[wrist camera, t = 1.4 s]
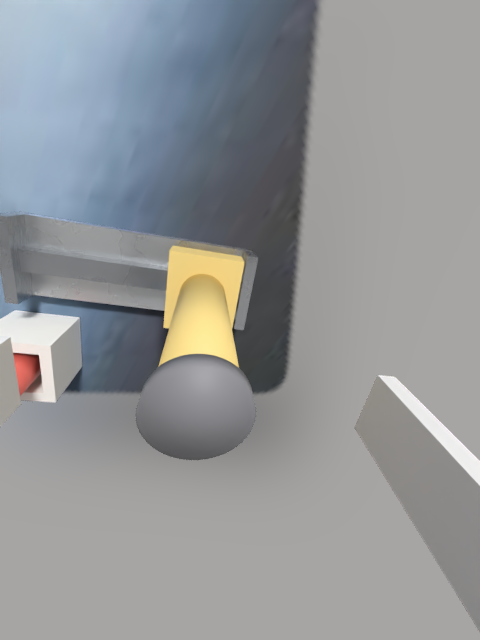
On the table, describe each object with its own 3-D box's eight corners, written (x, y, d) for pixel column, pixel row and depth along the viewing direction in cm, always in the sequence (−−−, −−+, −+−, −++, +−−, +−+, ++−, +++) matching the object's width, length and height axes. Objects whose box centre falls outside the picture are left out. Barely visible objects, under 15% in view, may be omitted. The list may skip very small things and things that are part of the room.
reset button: (7, 376, 22) (-43, 422, 17) (0, 340, 21) (-55, 380, 16) (52, 380, 22) (14, 425, 18) (48, 345, 21) (7, 384, 17)
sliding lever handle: (168, 311, 23) (114, 476, 10) (174, 242, 21) (115, 331, 7) (228, 318, 24) (255, 479, 10) (239, 253, 22) (292, 350, 8)
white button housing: (22, 363, 25) (-18, 400, 21) (15, 310, 23) (-32, 338, 19) (82, 368, 26) (56, 404, 22) (79, 317, 24) (50, 346, 20)
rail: (29, 289, 23) (5, 302, 20) (20, 211, 20) (-9, 214, 18) (239, 315, 26) (243, 330, 23) (252, 250, 23) (258, 257, 21)
